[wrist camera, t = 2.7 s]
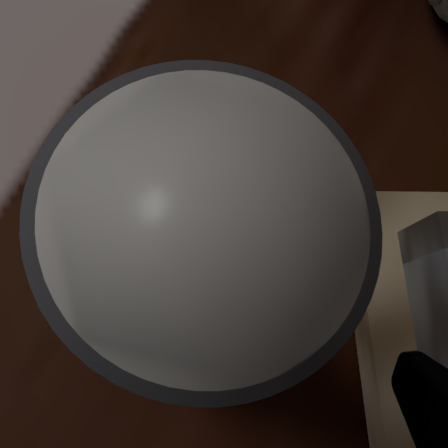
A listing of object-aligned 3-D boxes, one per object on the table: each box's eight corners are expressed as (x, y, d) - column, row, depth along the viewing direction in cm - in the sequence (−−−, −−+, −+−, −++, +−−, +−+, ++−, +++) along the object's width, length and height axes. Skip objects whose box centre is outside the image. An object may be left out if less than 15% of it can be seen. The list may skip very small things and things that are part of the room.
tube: (242, 370, 18) (410, 395, 6) (112, 377, 17) (-2, 421, 5) (235, 248, 20) (357, 68, 8) (116, 249, 19) (36, 50, 7)
